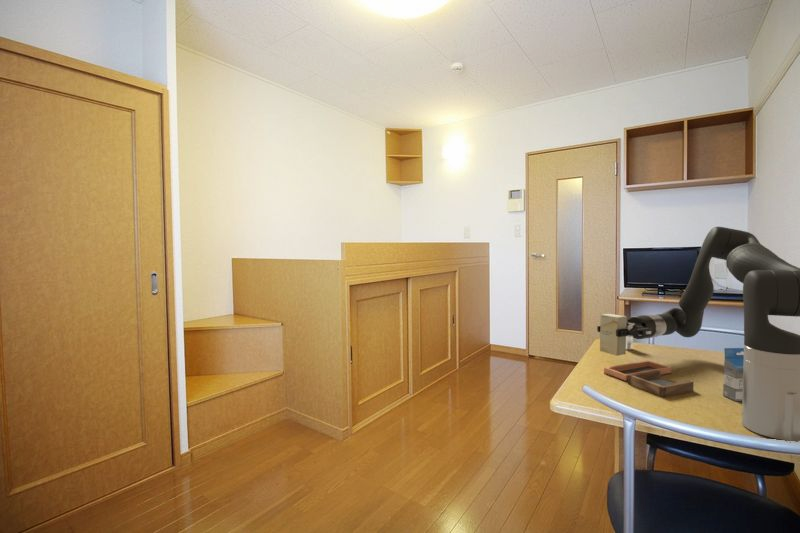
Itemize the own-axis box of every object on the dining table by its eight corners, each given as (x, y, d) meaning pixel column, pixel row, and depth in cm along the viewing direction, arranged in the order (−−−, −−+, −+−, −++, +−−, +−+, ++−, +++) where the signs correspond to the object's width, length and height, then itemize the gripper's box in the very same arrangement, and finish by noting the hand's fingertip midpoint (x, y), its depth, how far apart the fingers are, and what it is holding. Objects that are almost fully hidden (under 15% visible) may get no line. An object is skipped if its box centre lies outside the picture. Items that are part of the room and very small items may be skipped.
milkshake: (638, 350, 137) (639, 323, 136) (622, 350, 138) (622, 323, 137) (633, 347, 141) (634, 320, 141) (618, 346, 142) (618, 320, 142)
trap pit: (671, 373, 112) (671, 367, 112) (625, 381, 107) (626, 375, 107) (647, 366, 120) (647, 360, 119) (604, 373, 114) (604, 367, 114)
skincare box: (599, 351, 121) (599, 314, 121) (608, 349, 123) (608, 313, 123) (617, 356, 116) (617, 317, 115) (627, 354, 118) (627, 315, 117)
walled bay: (693, 391, 99) (693, 381, 99) (663, 397, 95) (663, 387, 95) (656, 378, 108) (656, 370, 108) (628, 383, 105) (628, 375, 105)
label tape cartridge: (735, 402, 92) (736, 352, 91) (722, 395, 96) (723, 348, 95) (772, 401, 92) (774, 351, 91) (758, 395, 95) (759, 347, 95)
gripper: (626, 312, 130) (589, 315, 125) (668, 318, 117) (627, 323, 112) (626, 333, 131) (589, 338, 125) (667, 342, 117) (627, 348, 112)
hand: (607, 331), depth 119 cm, fingers closed on skincare box, 6 cm apart
